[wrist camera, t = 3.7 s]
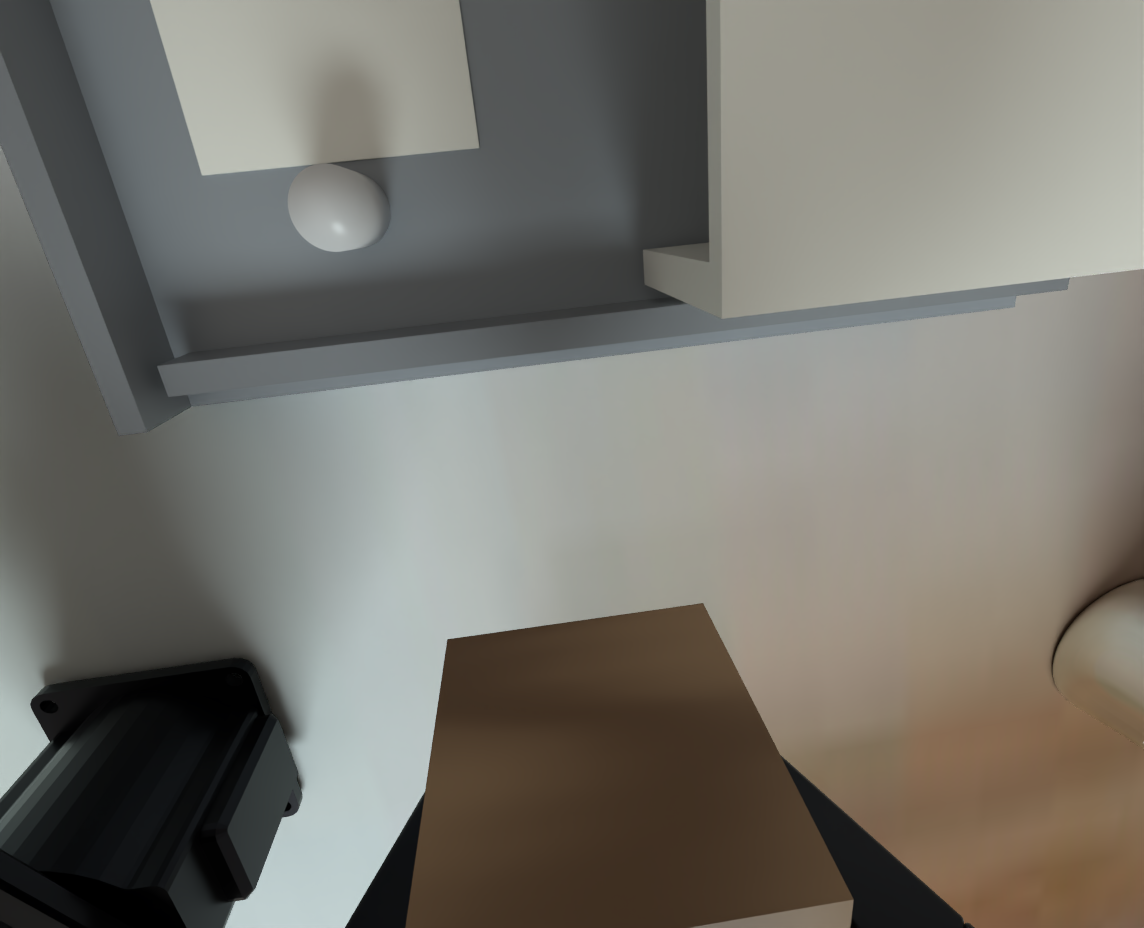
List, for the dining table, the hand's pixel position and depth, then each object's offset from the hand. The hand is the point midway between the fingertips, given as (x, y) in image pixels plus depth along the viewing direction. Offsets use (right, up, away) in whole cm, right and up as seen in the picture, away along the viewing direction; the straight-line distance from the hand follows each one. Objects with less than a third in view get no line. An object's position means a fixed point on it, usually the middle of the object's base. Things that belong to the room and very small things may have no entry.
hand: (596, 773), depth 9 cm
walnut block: (0, 0, +1) cm, 1 cm away
